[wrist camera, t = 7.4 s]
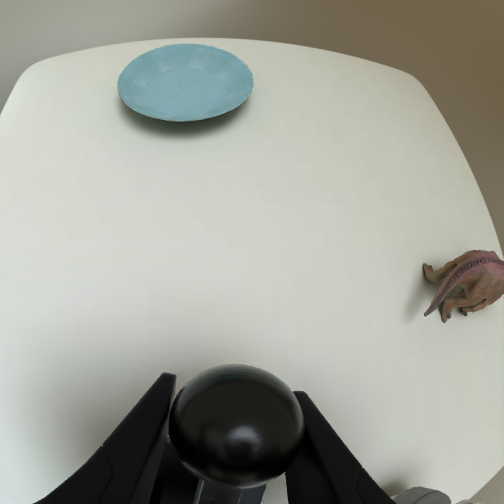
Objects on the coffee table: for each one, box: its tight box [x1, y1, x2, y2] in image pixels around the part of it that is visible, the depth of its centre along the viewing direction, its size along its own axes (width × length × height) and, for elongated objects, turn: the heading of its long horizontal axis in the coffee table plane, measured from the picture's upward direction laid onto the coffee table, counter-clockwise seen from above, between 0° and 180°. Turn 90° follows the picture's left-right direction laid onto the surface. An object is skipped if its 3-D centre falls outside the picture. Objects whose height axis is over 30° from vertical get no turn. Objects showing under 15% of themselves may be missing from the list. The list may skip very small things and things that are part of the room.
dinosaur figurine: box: [424, 250, 504, 323], centre depth 18 cm, size 14×6×9 cm, turn 93°
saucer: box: [118, 44, 253, 122], centre depth 23 cm, size 12×12×2 cm
